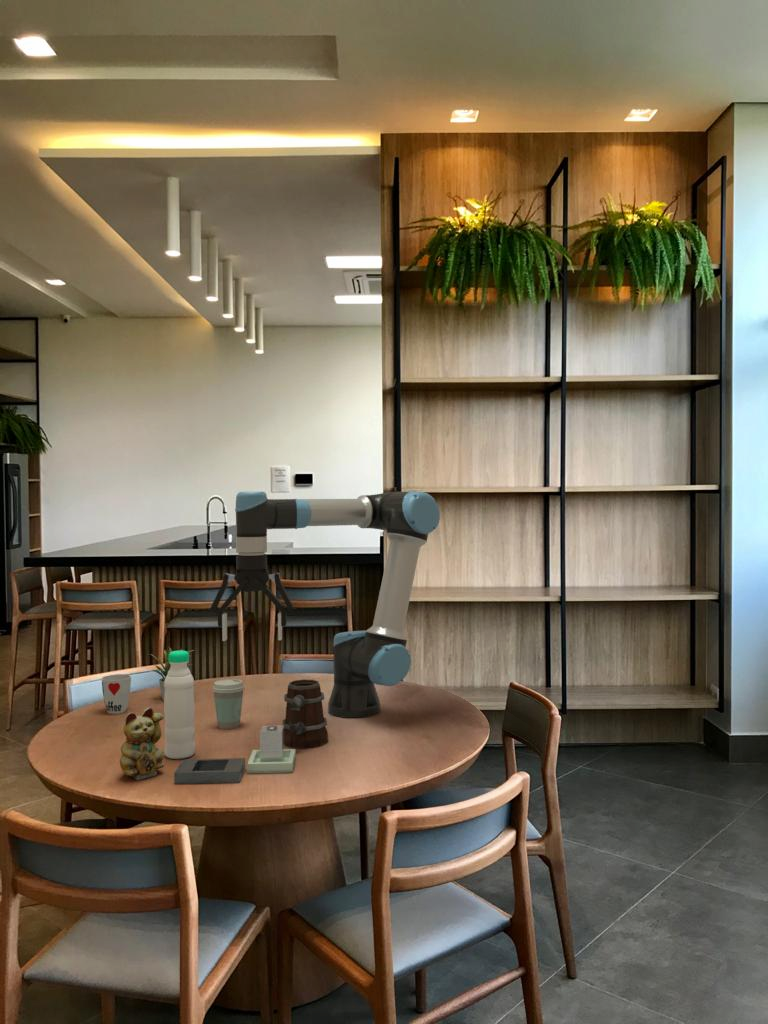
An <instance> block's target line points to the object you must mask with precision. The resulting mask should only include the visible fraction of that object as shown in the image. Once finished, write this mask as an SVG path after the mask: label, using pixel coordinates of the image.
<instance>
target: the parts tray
mask: <svg viewBox="0 0 768 1024" xmlns="http://www.w3.org/2000/svg"><path fill="white" fill-rule="evenodd" d="M295 761H296V748H286V749H285V748H284V762H260V749H252V751H251V753H250V757H249V759H248V761H247V765H246V767H247V768H246V769H247V773H246V774H248V775H250V774H251V775H253V774H257V775H258V774H292V773H293V771H294V766H295V763H296V762H295Z"/></svg>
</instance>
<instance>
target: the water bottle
mask: <svg viewBox="0 0 768 1024" xmlns="http://www.w3.org/2000/svg"><path fill="white" fill-rule="evenodd" d="M168 654H169V657H168V658H169V663H170V665H171V667H170V669H169V671H168V674H167V676H166V678H165V677H164V678H165V681H164V687H165V695H164V701H163V705H164V706H163V708H164V709H163V710H164V711H163V712H164V713H163V714H164V715H163V716H164V724H165V727H164V740H165V742H164V757H166V758H168V759H172V760H183V759H189V758H190V757H192V756H193V755H194V754H195V752H196V743H195V734H196V733H195V691H194V685H195V680H194V676H193V675H192V673H191V670H190V668H189V666H188V667H187V665H188V663H189V662H190V652H188V650H187V651H186V650H182V651H180V650H172V652H170V651H169V652H168Z"/></svg>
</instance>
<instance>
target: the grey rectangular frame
mask: <svg viewBox="0 0 768 1024" xmlns="http://www.w3.org/2000/svg"><path fill="white" fill-rule="evenodd" d="M245 770H246V758H245V757H239V758H237V757H234V758H233V757H232V758H231V757H230V758H192V759H191V758H184V759H181V762H180V764H179V765H178V767H177V769H175V771H174V773H173V774H174V777H173V779H174V785H183V784H184V785H187V784H189V785H191V784H233V783H234V784H235V783H237V784H238V783H239V784H240V783H241V780H242V777H243V775H244V773H245Z"/></svg>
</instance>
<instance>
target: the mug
mask: <svg viewBox="0 0 768 1024" xmlns="http://www.w3.org/2000/svg"><path fill="white" fill-rule="evenodd" d="M286 692H287V693H285V694H284V696H283V697H284V698H283V699H284V702H286V708H285V719H284V718H283V719H282V720H281V721H282V725H284V746H286V747H289V748H290V749H309V748H311V749H312V748H315V747H316V748H317V747H320V746H322V745H324V744H327V743H328V742H329V733H328V730H327V727H326V726H327V725H328V718H327V717H325V716H324V708H323V700H325V694H324V692H322V690H321V685H320V682H319V681H318V680H316V679H315V680H314V679H305V678H304V679H303V678H302V679H297V680H293V681H290V682H288V685H287V691H286Z"/></svg>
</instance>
